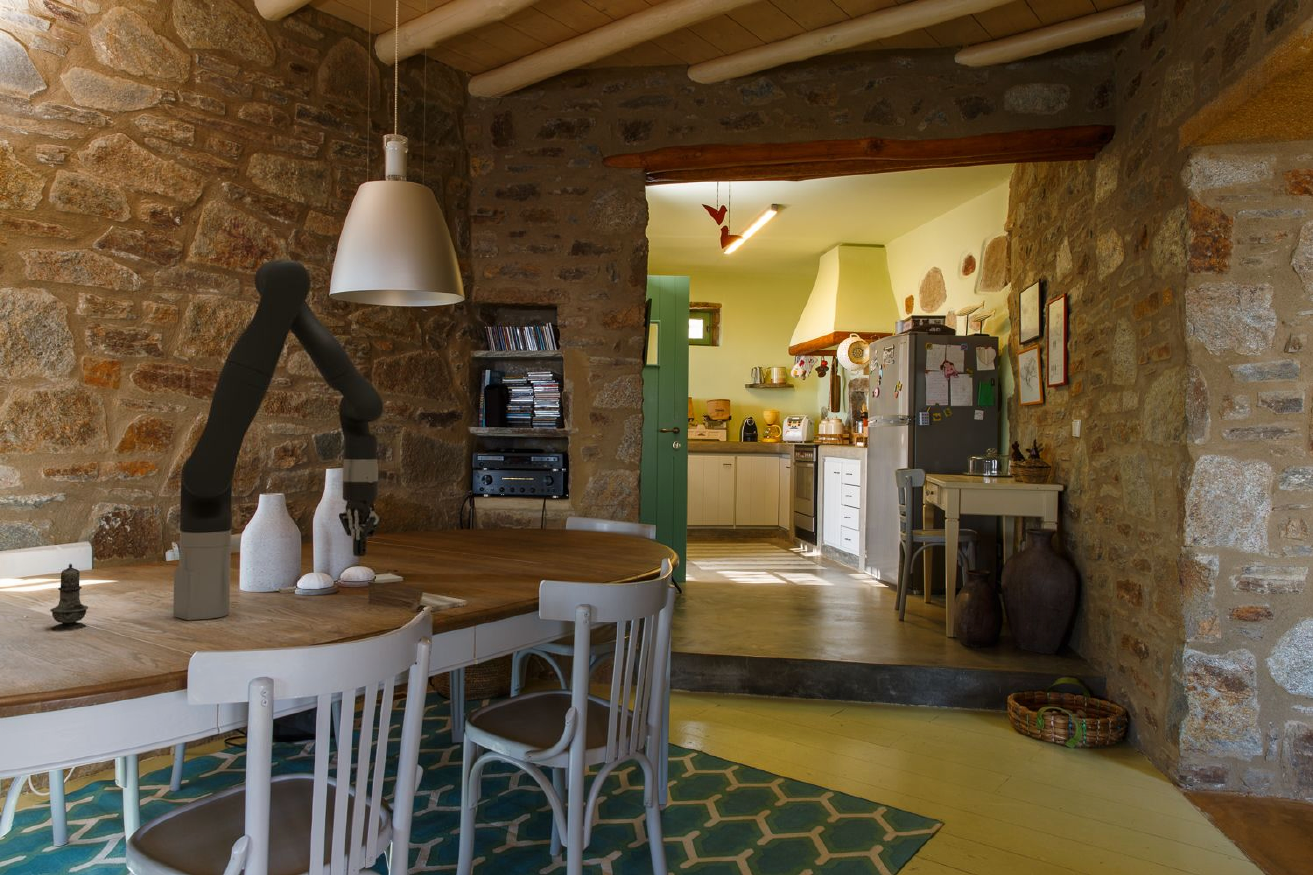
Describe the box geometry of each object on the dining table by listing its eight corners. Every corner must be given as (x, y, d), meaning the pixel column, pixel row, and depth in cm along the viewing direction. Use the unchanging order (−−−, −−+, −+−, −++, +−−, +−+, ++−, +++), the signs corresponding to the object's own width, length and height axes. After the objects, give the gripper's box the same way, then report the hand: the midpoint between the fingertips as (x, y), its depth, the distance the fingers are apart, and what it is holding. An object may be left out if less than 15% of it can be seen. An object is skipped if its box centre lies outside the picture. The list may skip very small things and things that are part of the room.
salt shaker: (55, 624, 162) (56, 561, 162) (91, 623, 164) (93, 560, 164) (45, 631, 156) (47, 566, 156) (83, 630, 159) (84, 565, 159)
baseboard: (266, 589, 206) (281, 595, 198) (266, 577, 206) (281, 583, 198) (385, 577, 226) (403, 583, 219) (386, 566, 226) (403, 572, 219)
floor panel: (431, 611, 182) (431, 607, 182) (371, 599, 193) (371, 595, 193) (466, 604, 190) (466, 600, 190) (406, 593, 202) (407, 589, 202)
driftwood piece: (363, 604, 188) (363, 582, 188) (370, 603, 190) (371, 580, 190) (416, 613, 181) (416, 589, 181) (422, 611, 183) (423, 588, 183)
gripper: (328, 478, 194) (327, 554, 194) (364, 481, 187) (363, 560, 187) (356, 477, 200) (355, 551, 201) (393, 480, 193) (392, 556, 193)
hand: (359, 555), depth 194 cm, fingers closed
